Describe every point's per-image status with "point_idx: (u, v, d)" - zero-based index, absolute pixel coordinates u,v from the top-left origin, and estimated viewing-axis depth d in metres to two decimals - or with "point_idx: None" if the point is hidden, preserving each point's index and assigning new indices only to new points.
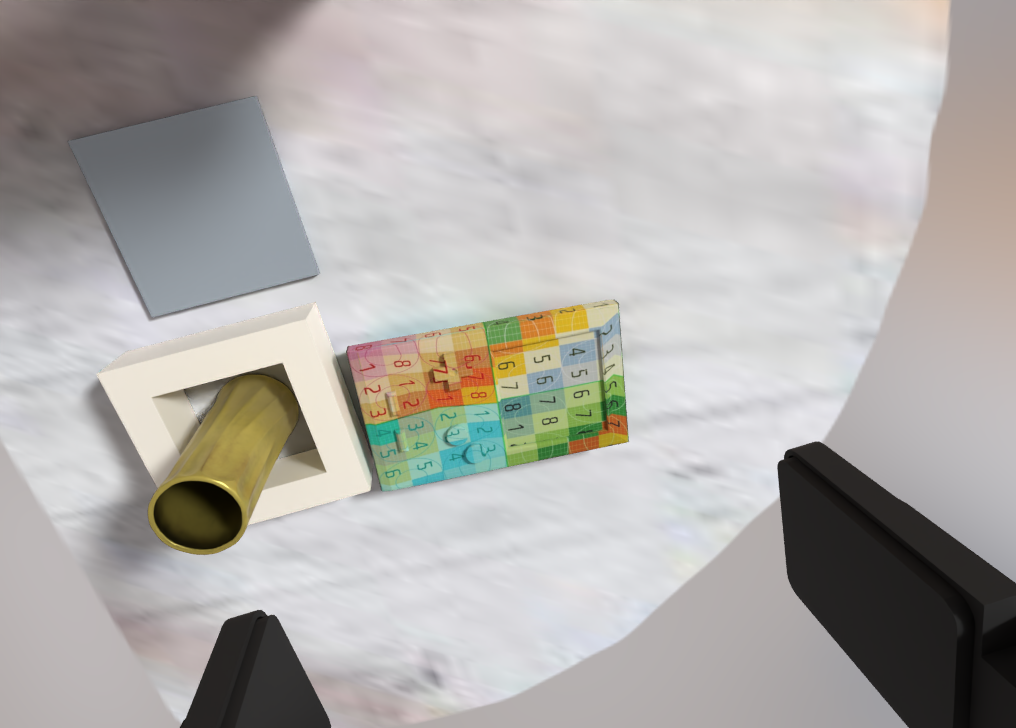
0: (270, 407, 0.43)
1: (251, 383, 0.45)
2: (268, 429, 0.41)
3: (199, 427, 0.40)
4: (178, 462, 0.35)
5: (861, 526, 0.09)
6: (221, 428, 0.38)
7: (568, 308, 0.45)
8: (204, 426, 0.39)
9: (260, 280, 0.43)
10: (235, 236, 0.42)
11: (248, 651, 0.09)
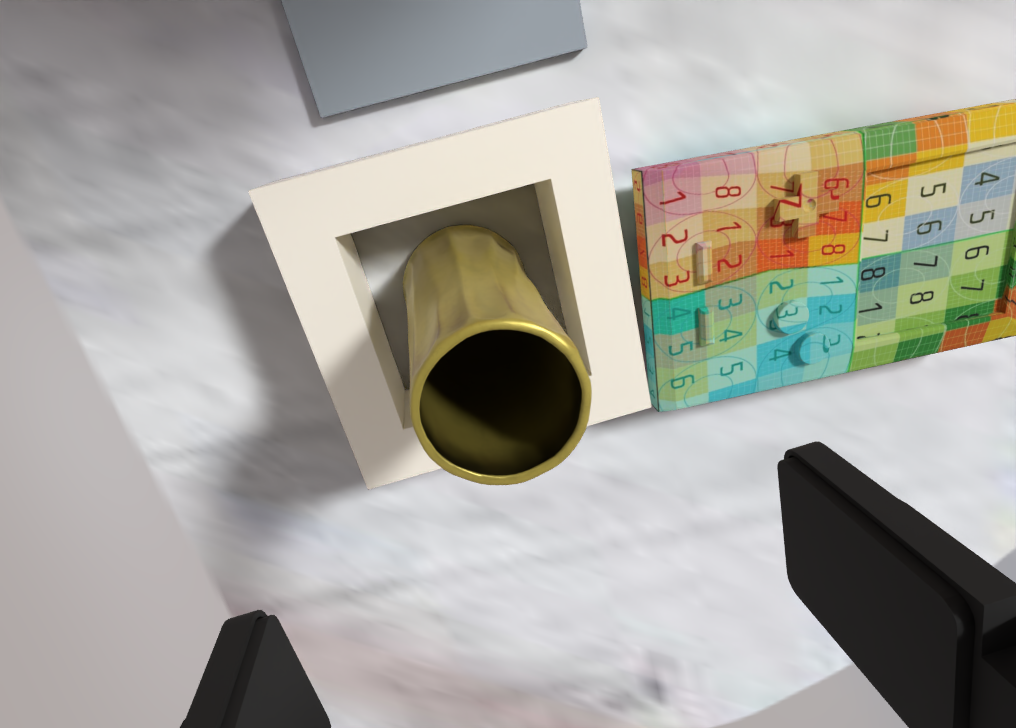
0: (518, 262, 0.26)
1: (469, 235, 0.28)
2: (535, 287, 0.24)
3: (421, 284, 0.24)
4: (441, 312, 0.18)
5: (861, 526, 0.09)
6: (482, 271, 0.21)
7: (976, 107, 0.28)
8: (439, 275, 0.23)
9: (496, 55, 0.26)
10: None
11: (248, 651, 0.09)
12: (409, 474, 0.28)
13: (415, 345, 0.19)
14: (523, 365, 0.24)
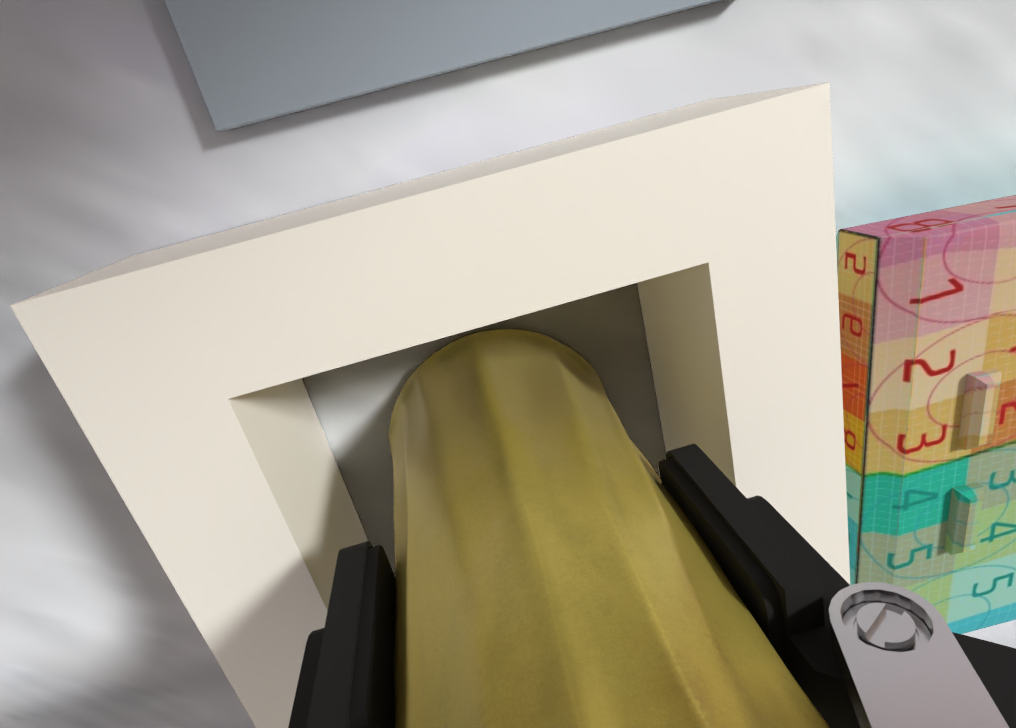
0: (624, 429, 0.12)
1: (515, 353, 0.15)
2: (685, 515, 0.10)
3: (425, 516, 0.10)
4: None
5: (710, 520, 0.09)
6: (592, 544, 0.08)
7: None
8: (471, 520, 0.09)
9: (575, 3, 0.13)
10: None
11: (367, 573, 0.10)
12: None
13: None
14: None
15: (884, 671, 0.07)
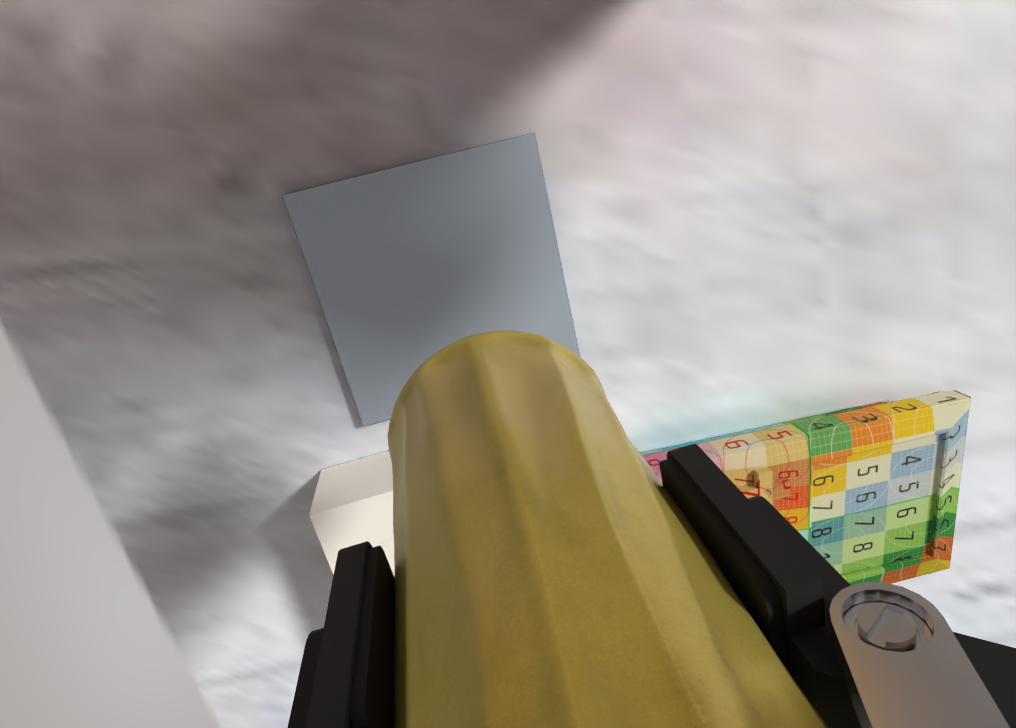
0: None
1: (514, 354, 0.15)
2: (685, 517, 0.10)
3: (425, 518, 0.10)
4: None
5: (710, 520, 0.09)
6: (592, 547, 0.08)
7: (900, 403, 0.34)
8: (471, 523, 0.09)
9: None
10: (484, 318, 0.31)
11: (366, 573, 0.10)
12: None
13: None
14: None
15: (885, 671, 0.07)
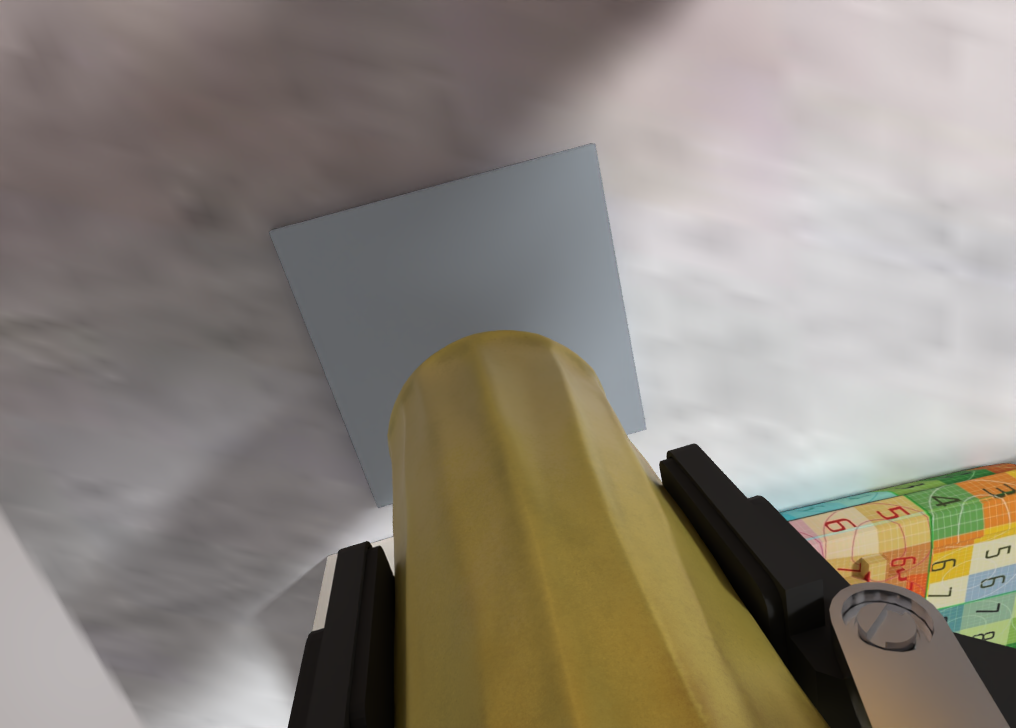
0: None
1: (514, 354, 0.15)
2: (686, 517, 0.10)
3: (425, 518, 0.10)
4: None
5: (710, 521, 0.09)
6: (593, 546, 0.08)
7: None
8: (471, 522, 0.09)
9: None
10: None
11: (366, 573, 0.10)
12: None
13: None
14: None
15: (885, 671, 0.07)
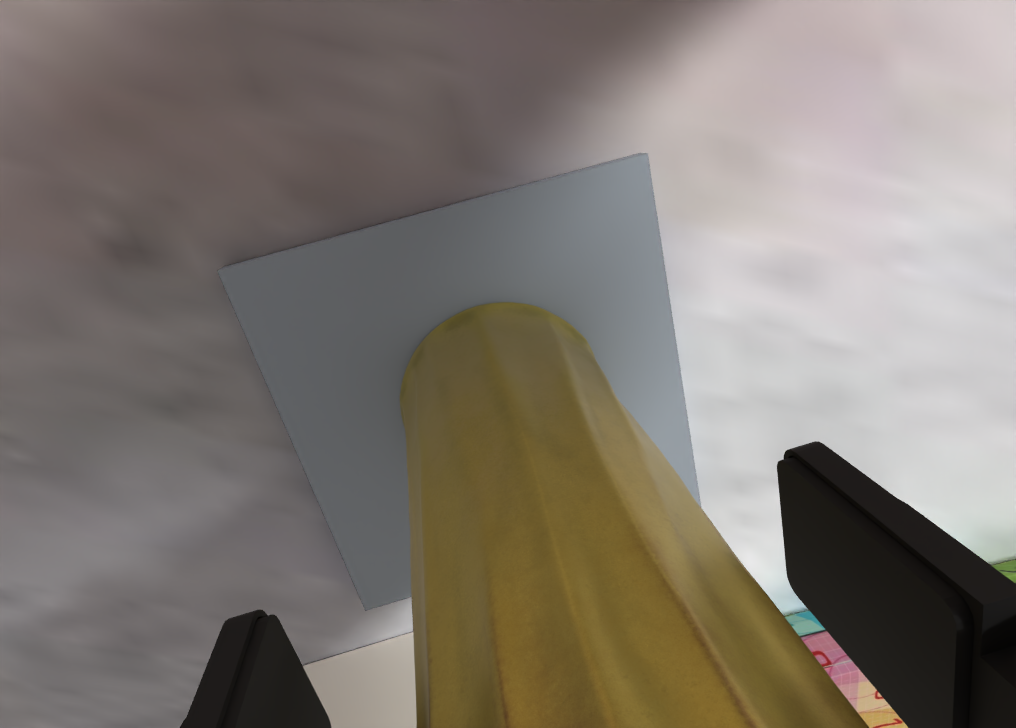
0: None
1: (514, 322, 0.16)
2: (661, 452, 0.12)
3: (437, 450, 0.12)
4: (506, 647, 0.07)
5: (860, 526, 0.09)
6: (577, 458, 0.10)
7: None
8: (477, 447, 0.11)
9: None
10: None
11: (248, 651, 0.09)
12: None
13: (433, 724, 0.07)
14: None
15: None
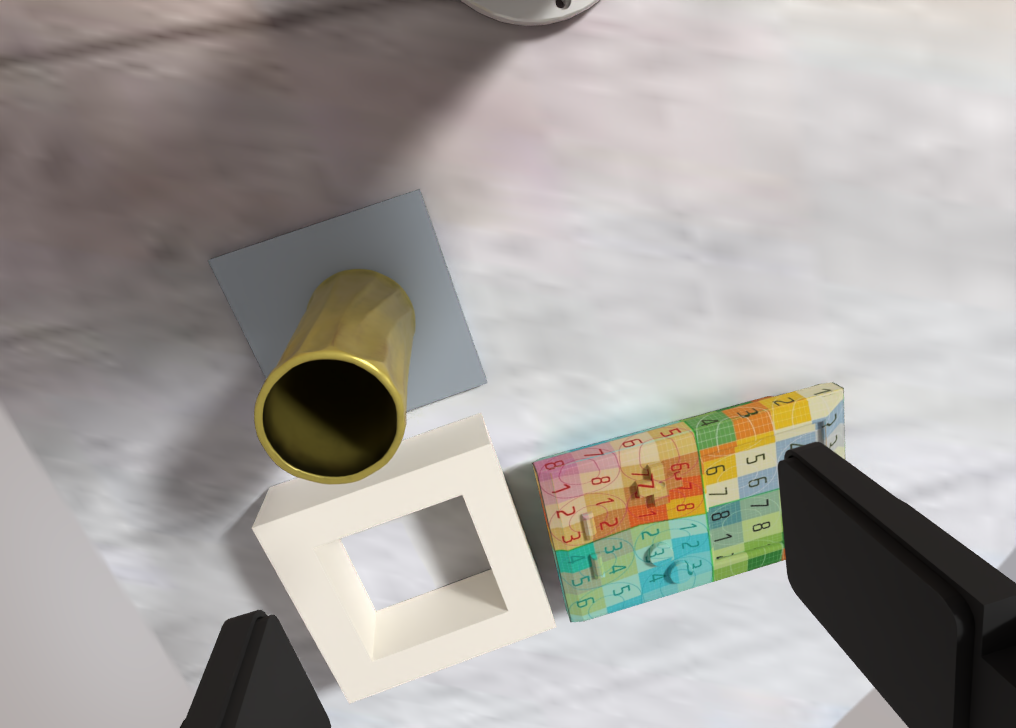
0: (390, 299, 0.30)
1: (356, 277, 0.33)
2: (396, 320, 0.28)
3: (300, 323, 0.28)
4: (289, 348, 0.23)
5: (861, 526, 0.09)
6: (338, 311, 0.26)
7: (782, 397, 0.38)
8: (310, 316, 0.27)
9: (422, 395, 0.37)
10: None
11: (248, 651, 0.09)
12: (379, 690, 0.38)
13: None
14: None
15: None
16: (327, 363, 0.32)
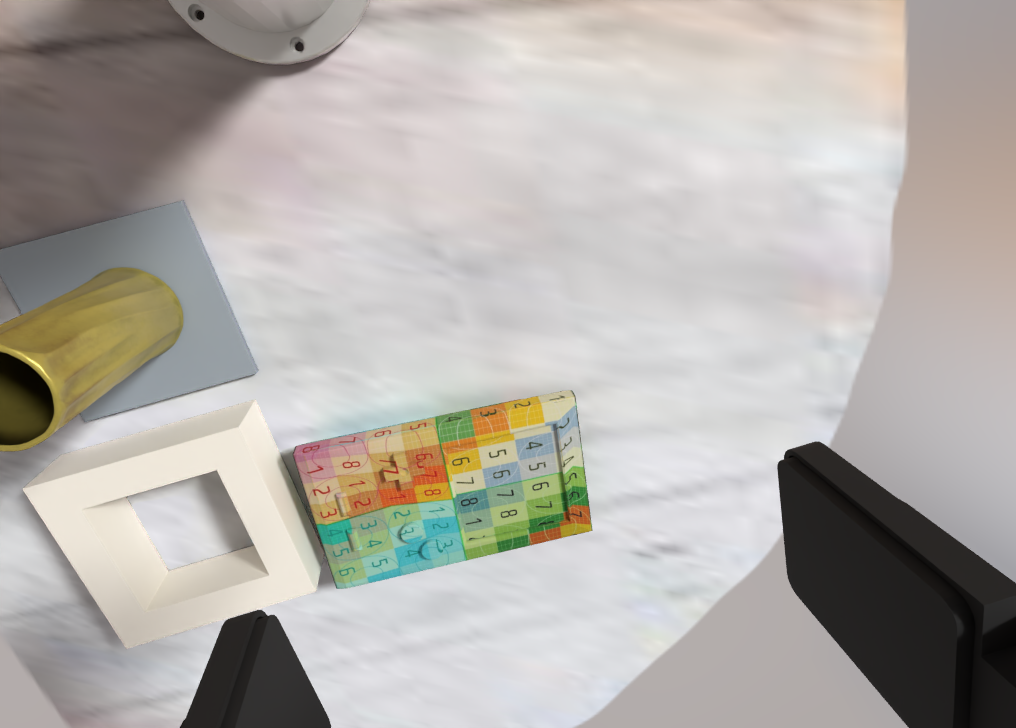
0: (133, 297, 0.35)
1: (119, 275, 0.37)
2: (122, 316, 0.33)
3: None
4: None
5: (861, 526, 0.09)
6: (50, 307, 0.31)
7: (524, 401, 0.44)
8: None
9: (195, 381, 0.42)
10: None
11: (248, 651, 0.09)
12: (154, 638, 0.44)
13: None
14: None
15: None
16: None
